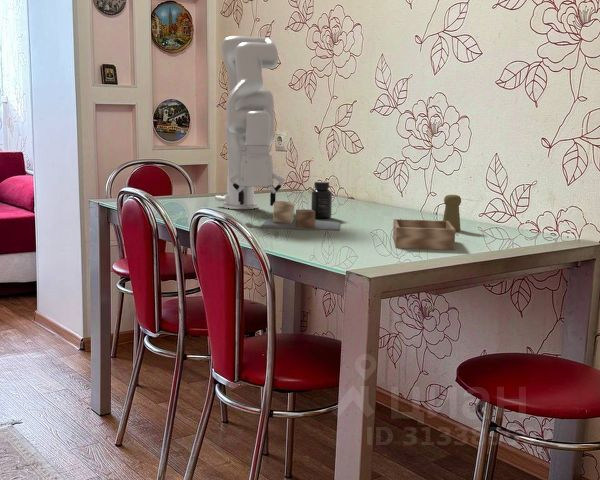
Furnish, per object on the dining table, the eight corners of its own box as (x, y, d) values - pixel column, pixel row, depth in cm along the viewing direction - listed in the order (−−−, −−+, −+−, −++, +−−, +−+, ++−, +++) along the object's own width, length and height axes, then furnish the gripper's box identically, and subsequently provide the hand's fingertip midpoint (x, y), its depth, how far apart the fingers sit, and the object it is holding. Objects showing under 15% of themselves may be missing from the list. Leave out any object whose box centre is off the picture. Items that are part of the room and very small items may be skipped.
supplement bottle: (334, 217, 262) (335, 182, 260) (326, 220, 256) (327, 183, 254) (315, 215, 265) (316, 180, 263) (307, 218, 259) (308, 182, 257)
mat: (260, 227, 237) (260, 226, 237) (266, 220, 253) (266, 219, 253) (339, 230, 235) (339, 229, 235) (340, 222, 251) (340, 221, 251)
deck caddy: (395, 247, 209) (396, 227, 208) (392, 237, 224) (393, 219, 223) (454, 249, 208) (455, 229, 207) (447, 239, 223) (448, 220, 222)
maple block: (272, 221, 245) (273, 203, 244) (274, 219, 251) (275, 200, 250) (291, 223, 245) (292, 204, 244) (293, 220, 251) (294, 202, 250)
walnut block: (298, 228, 236) (299, 211, 235) (295, 225, 241) (296, 209, 240) (314, 228, 237) (315, 211, 236) (311, 225, 242) (311, 209, 241)
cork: (461, 229, 243) (464, 194, 241) (459, 232, 237) (461, 196, 235) (442, 228, 245) (444, 193, 243) (439, 230, 239) (441, 195, 237)
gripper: (228, 150, 242) (228, 205, 245) (283, 152, 240) (282, 207, 243) (232, 149, 249) (232, 202, 252) (286, 151, 248) (285, 204, 251)
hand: (256, 204), depth 248 cm, fingers open, 9 cm apart
